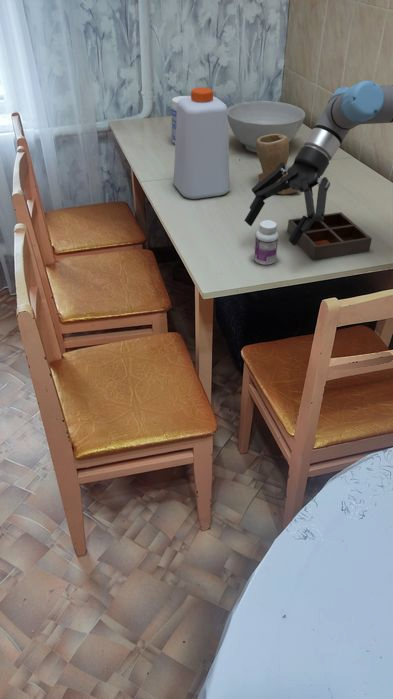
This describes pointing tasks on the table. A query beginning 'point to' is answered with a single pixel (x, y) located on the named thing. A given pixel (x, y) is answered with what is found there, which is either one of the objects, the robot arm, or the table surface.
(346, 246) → the grid
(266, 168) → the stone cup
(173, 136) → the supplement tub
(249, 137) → the decorative bowl
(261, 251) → the pill bottle
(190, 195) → the plastic bottle
